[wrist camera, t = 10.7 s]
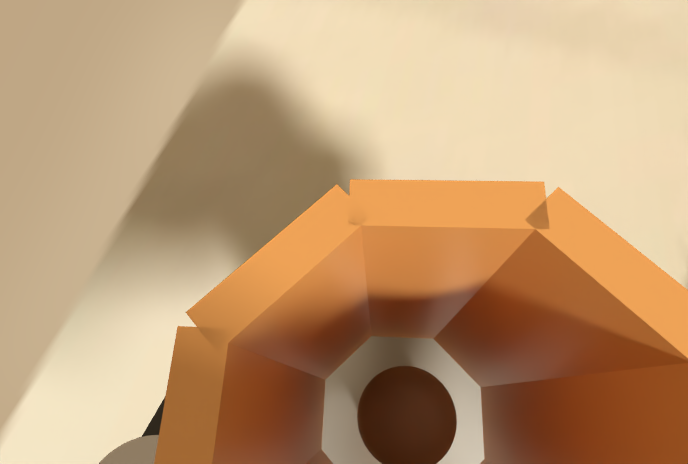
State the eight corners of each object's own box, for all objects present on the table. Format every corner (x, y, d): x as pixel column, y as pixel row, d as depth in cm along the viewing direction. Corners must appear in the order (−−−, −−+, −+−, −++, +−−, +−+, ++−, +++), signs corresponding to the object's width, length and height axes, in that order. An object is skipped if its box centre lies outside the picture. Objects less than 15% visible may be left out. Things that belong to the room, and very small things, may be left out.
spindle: (473, 242, 22) (526, 154, 14) (596, 519, 18) (770, 618, 10) (233, 320, 21) (147, 275, 13) (300, 623, 17) (233, 814, 9)
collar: (496, 322, 15) (710, 183, 5) (510, 540, 13) (907, 961, 3) (311, 315, 15) (203, 177, 6) (295, 524, 13) (86, 849, 4)
